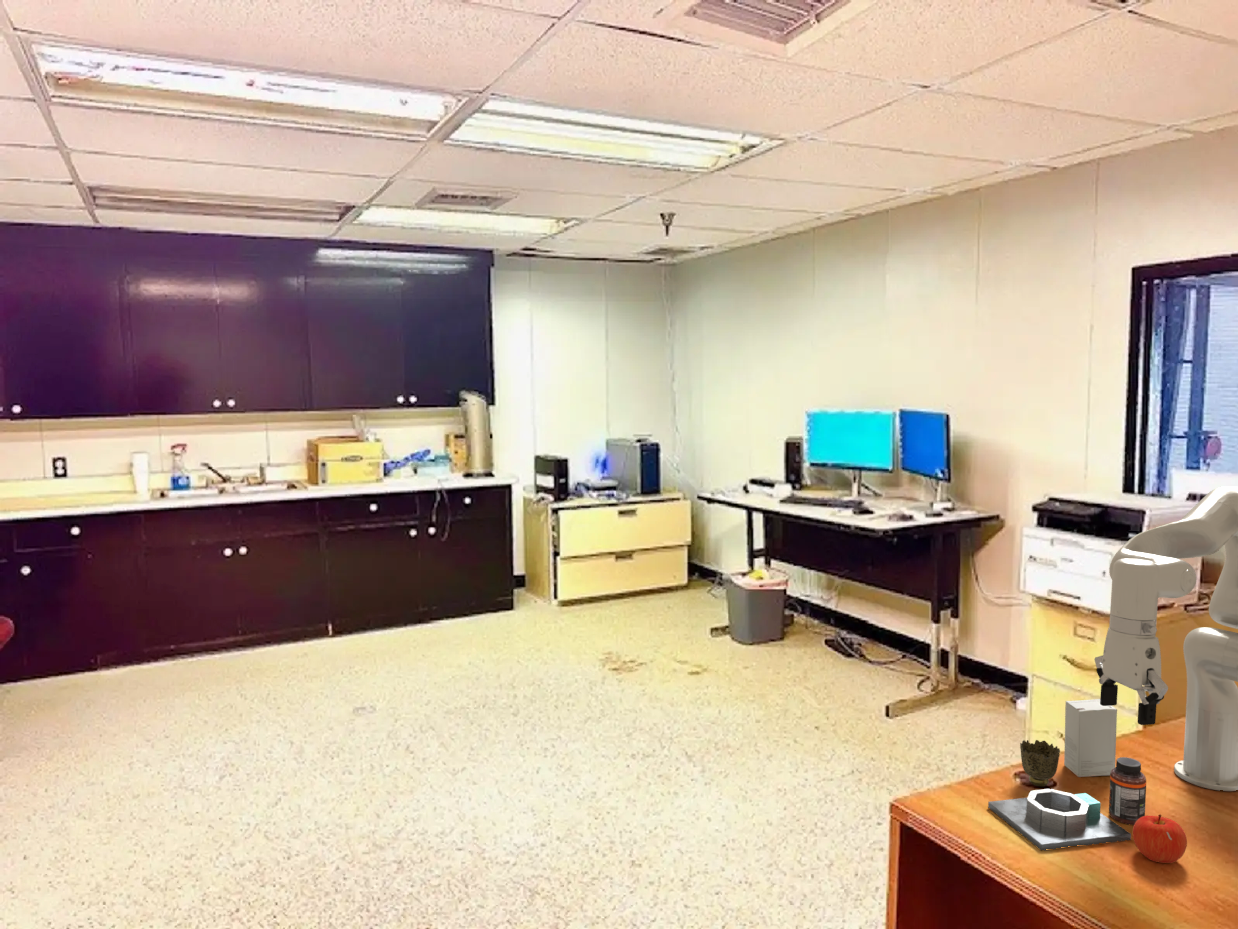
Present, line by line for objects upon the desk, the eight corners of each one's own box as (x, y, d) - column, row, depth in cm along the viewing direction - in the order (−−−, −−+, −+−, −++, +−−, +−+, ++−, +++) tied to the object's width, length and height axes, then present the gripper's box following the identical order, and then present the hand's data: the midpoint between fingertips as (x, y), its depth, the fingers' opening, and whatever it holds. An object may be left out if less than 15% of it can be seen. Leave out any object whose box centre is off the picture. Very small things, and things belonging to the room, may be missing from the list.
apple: (1194, 872, 148) (1196, 827, 147) (1142, 868, 149) (1144, 824, 148) (1173, 847, 156) (1175, 804, 155) (1124, 844, 157) (1126, 801, 156)
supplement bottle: (1110, 807, 170) (1112, 751, 169) (1146, 816, 167) (1148, 759, 166) (1106, 820, 165) (1108, 763, 164) (1143, 829, 162) (1145, 771, 161)
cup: (1050, 776, 184) (1051, 739, 183) (1064, 792, 176) (1066, 754, 176) (1013, 775, 184) (1014, 738, 184) (1026, 791, 177) (1027, 753, 176)
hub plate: (1070, 798, 174) (1071, 778, 174) (1130, 840, 158) (1131, 818, 158) (988, 807, 171) (988, 787, 170) (1041, 851, 155) (1042, 828, 155)
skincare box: (1099, 764, 189) (1102, 697, 187) (1116, 777, 183) (1119, 708, 181) (1061, 765, 189) (1064, 698, 187) (1077, 778, 183) (1079, 709, 181)
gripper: (1187, 637, 155) (1180, 731, 157) (1116, 613, 172) (1111, 697, 174) (1149, 639, 154) (1143, 733, 156) (1082, 614, 171) (1077, 699, 173)
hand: (1126, 714), depth 165 cm, fingers open, 9 cm apart
